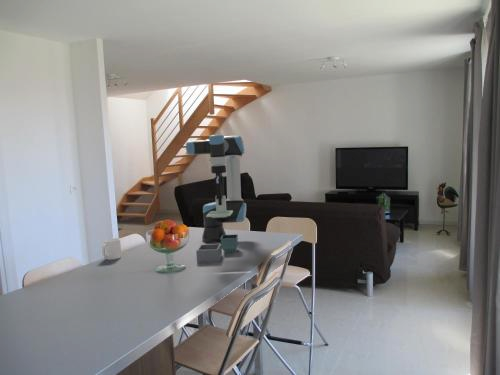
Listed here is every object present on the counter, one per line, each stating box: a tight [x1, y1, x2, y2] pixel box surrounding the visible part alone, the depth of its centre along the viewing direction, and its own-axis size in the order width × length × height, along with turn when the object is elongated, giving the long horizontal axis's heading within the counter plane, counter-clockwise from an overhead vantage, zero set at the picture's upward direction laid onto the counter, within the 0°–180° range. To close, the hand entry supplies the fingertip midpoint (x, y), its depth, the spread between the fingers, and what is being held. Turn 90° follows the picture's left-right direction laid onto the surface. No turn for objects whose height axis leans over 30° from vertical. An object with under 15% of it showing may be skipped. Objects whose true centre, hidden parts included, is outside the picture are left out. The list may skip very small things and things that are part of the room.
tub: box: [195, 243, 223, 264], centre depth 209 cm, size 12×11×7 cm
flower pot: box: [220, 233, 239, 253], centre depth 223 cm, size 9×9×9 cm
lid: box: [206, 195, 233, 218], centre depth 206 cm, size 13×12×10 cm
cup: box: [101, 237, 123, 261], centre depth 224 cm, size 8×12×10 cm
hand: (221, 210), depth 211 cm, fingers closed on lid, 2 cm apart
